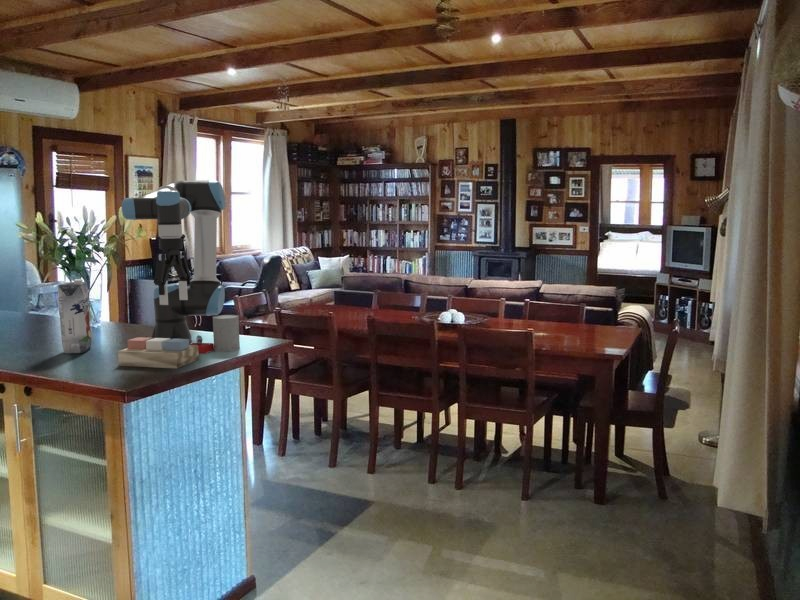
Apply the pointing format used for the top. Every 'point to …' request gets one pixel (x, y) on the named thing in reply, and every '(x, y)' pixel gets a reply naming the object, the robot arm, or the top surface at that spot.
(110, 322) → the top surface
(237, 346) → the grey cylinder
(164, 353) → the frame
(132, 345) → the red key
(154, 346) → the white key
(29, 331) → the top surface
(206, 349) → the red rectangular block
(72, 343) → the juice carton
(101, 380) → the top surface
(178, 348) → the blue key
